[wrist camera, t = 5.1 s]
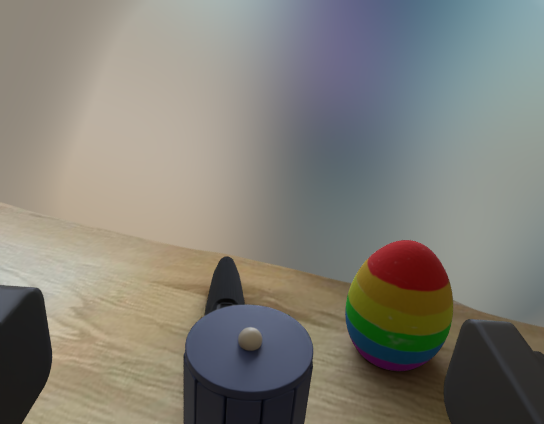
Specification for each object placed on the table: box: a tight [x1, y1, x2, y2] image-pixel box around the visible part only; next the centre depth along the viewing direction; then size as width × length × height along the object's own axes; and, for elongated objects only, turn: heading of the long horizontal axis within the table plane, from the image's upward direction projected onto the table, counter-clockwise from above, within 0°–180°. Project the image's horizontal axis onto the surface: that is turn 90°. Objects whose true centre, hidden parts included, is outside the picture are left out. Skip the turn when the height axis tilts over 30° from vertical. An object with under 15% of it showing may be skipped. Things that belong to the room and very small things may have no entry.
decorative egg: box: [345, 240, 453, 371], centre depth 36 cm, size 8×8×10 cm
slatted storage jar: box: [184, 305, 313, 424], centre depth 25 cm, size 6×6×11 cm
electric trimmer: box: [205, 257, 245, 315], centre depth 38 cm, size 4×16×3 cm, turn 4°
